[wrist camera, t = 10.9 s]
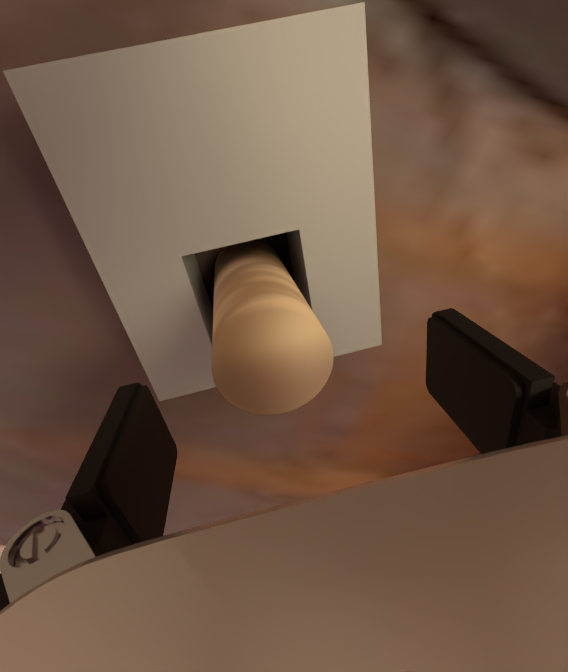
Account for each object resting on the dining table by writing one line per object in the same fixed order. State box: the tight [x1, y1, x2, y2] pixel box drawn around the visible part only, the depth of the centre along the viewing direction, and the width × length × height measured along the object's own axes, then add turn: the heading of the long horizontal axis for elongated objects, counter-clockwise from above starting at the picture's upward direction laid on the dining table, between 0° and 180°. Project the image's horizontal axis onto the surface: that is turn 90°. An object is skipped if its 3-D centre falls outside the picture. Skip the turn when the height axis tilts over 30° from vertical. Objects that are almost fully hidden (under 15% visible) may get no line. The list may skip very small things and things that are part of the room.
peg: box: [212, 239, 334, 415], centre depth 17 cm, size 4×4×12 cm
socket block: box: [3, 2, 382, 402], centre depth 19 cm, size 14×16×5 cm
